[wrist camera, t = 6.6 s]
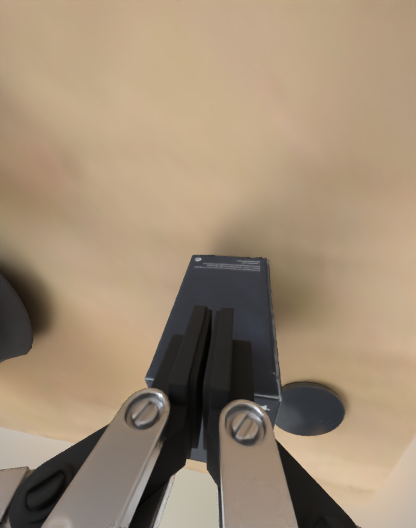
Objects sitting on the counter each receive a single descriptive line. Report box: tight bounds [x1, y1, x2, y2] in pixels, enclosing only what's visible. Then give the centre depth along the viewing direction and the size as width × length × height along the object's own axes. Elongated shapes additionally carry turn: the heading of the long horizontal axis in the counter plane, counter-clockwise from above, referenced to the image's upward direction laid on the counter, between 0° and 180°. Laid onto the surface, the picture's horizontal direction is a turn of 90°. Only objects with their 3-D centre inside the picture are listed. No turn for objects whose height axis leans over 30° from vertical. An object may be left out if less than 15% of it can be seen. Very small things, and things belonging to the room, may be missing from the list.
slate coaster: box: [275, 382, 345, 436], centre depth 26 cm, size 8×8×1 cm
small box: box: [145, 255, 283, 463], centre depth 17 cm, size 11×6×10 cm, turn 0°
